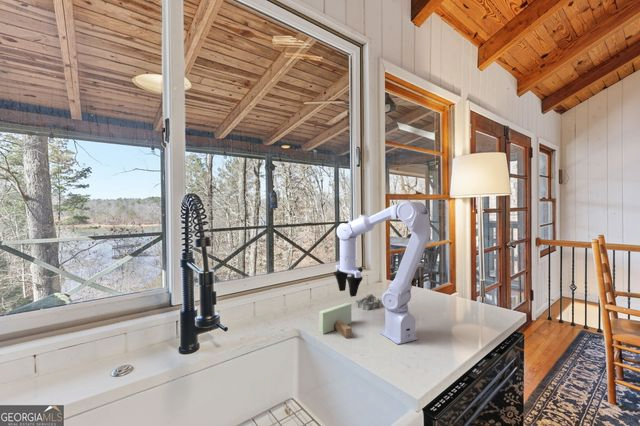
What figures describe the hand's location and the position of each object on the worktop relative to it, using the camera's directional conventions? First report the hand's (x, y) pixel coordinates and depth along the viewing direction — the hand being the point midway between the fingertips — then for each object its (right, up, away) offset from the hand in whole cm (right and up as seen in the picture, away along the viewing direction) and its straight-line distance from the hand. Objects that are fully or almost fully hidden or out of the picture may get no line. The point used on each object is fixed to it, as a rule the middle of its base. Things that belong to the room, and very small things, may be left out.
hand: (347, 293), depth 108 cm
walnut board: (-5, -11, -5) cm, 13 cm away
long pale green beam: (-5, -11, -5) cm, 13 cm away
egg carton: (+11, -11, +17) cm, 23 cm away
